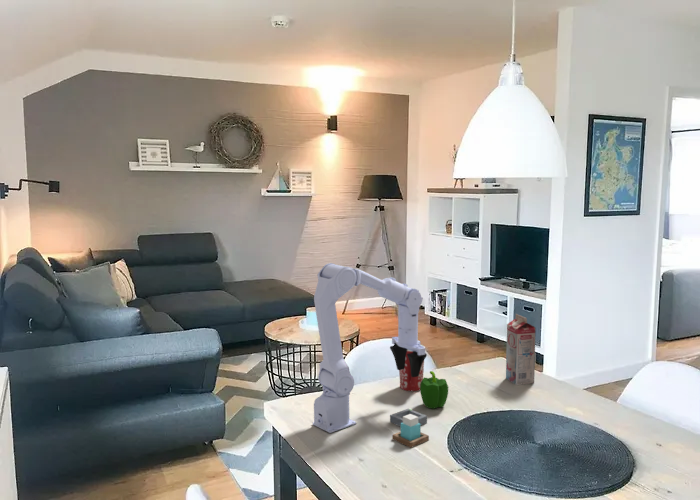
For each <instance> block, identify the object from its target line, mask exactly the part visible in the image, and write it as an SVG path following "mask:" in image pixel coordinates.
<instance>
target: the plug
mask: <svg viewBox="0 0 700 500" xmlns="http://www.w3.org/2000/svg"><path fill="white" fill-rule="evenodd" d="M421 426H422V425H421V424H420V423H418V417H417V416H415V415H412V414H409V415H406V416H403V423H401V427H400V432H401V437H403V438H405V439H407V440H409V441H412V440H415V439H417V438H420V434H421V433H422V432H421V431H422V430H421Z"/></svg>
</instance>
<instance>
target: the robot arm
mask: <svg viewBox="0 0 700 500" xmlns="http://www.w3.org/2000/svg"><path fill="white" fill-rule="evenodd" d="M360 285H362V286H365V287H368V288H371V289H373V290H375V291H377V294H378V296H379V297H381V298H384V299H385V300H387V301H391V302H393V303H394V304H396V305H397V306H398V308H397V309H398V316H397V317H398V320H397V321H398V326H397V327H398V328H397V331H398V332H397V333H398V335H397V336H392V337H391V344H393V345H391V346H390V347H389V349H390V351H391V353H392V356H393V358H394V362H395V365H396V370H398V371H399V370H402V369H404V368H405V358H406V353H407V350H411V351H413V353H409V354H407V356H408V359H409V362H410V368H411V376H412V377H418V376H419V373H420V369H421V366H422V363H423V361H424V362H425V359H426V357H427V356H428V355H427V353H426V347H425V348H424V347H422V346H421V345H422V343H421V341H420V340H418V339H419V337H418V336H419V335H418V333H419V312H420V307H421V305H422V303H423V297H422V295H421V292H420V291H419V289H416V288H413V287H408V286H409V285H408V284H407V283H404V282H403V283H401V282H399V281H397V279H396V278H395V277H392V276H390V277H385V278H383V279H381V278H378V277H377V276H374V275H372V274H370V273H368V272H367V271H364V270H362V269H359V268H353V267H351V266H344V265H339V264H335V263H332V262H330V263H329V262H328V263H326V264H325V265H324V266H323V267H322V268H321V269H320V270H319V271H318V273H317V284H316V288H315V292H314V295H313V302H314V307H315V314H316V316H315V317H316V322H317V327H318V334H319V340H320V347H321V353H322V359H323V360H322V361H320V362H319V370H318V371H319V372H318V375H317V377H318V378H317V379H318V382H319V384H320V385H321V386H322V393H321V395H320V396H318V397H316V398H315V400H314V402H313V422H312V425H313V426H315V427H317V428H319V429H321V430H323V431H325V432H327V433H329V434H330V433H335V432H337V431H340V430H343V429H345V428H348V427H351V426H354V425H356V424H357V421H355V420H353V419H351V418H350V395H351V392H352V391H353V389H354V386H355V378H354V376H353V375H352V374H351V371H350V367H349V365H348V364H347V362H346V361H345V359H344V355H343V349H342V348H343V347H342V341H341V335H340V327H339V320H338V313H337V308H336V303H337V301H338V300H339V299H340V298H341V297H343V296H344V295H346V294H347V293H348V292H349V291H351V289H353V288H354V287H355V286H356V287H358V286H360Z"/></svg>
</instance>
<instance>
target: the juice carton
mask: <svg viewBox="0 0 700 500" xmlns="http://www.w3.org/2000/svg"><path fill="white" fill-rule="evenodd" d="M505 354H506V358H505V359H506V360H505V361H506V362H505V379H506V380H508V381H509V382H511V383H512V384H514V385H515V386H517V385H518V386H519V385H528V384H535V367H536V366H535V365H536V361H535V360H536V327H535V326H534V325H532V324H530V323H528V318H527V317H525V316H522V315H520V314H518V313H515V318H514V319H512V320H511V321H510V322H508V323H507V324H506V353H505Z"/></svg>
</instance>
